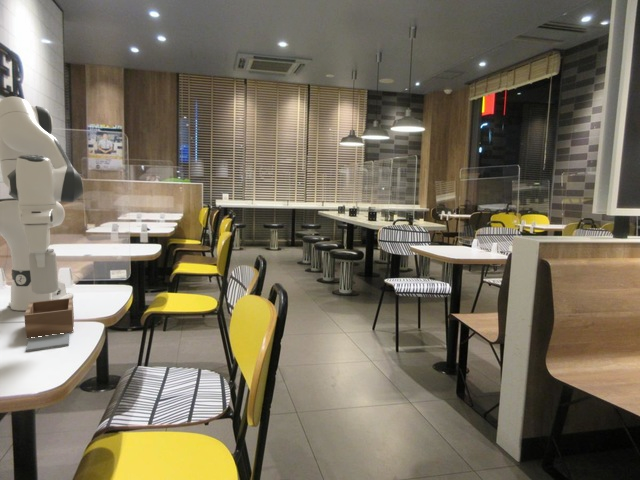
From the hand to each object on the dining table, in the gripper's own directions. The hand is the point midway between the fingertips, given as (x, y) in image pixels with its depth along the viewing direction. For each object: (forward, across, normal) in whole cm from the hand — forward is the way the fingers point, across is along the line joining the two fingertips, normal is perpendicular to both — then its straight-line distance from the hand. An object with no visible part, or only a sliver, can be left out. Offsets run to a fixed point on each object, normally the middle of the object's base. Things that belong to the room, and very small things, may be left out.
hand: (42, 264), depth 122 cm
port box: (+23, -15, 0) cm, 27 cm away
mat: (+23, 0, 0) cm, 23 cm away
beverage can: (+8, 0, 0) cm, 8 cm away
